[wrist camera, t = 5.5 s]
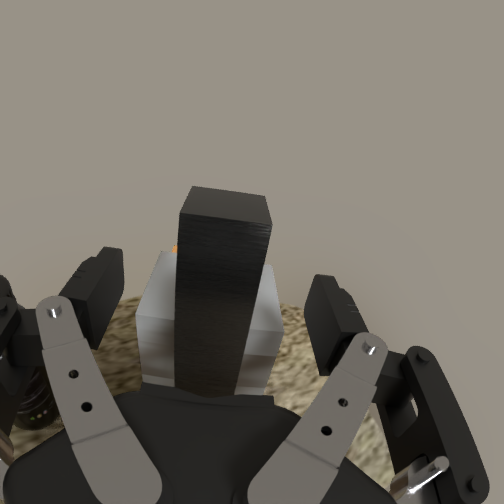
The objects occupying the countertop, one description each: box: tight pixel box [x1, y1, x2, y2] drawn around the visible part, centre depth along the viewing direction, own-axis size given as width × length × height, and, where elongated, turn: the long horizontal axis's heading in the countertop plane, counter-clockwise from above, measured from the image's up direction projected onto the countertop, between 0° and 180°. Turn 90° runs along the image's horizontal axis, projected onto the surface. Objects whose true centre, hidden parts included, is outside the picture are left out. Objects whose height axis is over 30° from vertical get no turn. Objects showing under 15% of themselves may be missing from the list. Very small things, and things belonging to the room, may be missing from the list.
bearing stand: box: [135, 251, 284, 395], centre depth 22 cm, size 9×16×12 cm, turn 3°
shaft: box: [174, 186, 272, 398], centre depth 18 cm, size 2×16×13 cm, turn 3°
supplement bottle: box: [0, 275, 60, 430], centre depth 16 cm, size 7×7×12 cm
